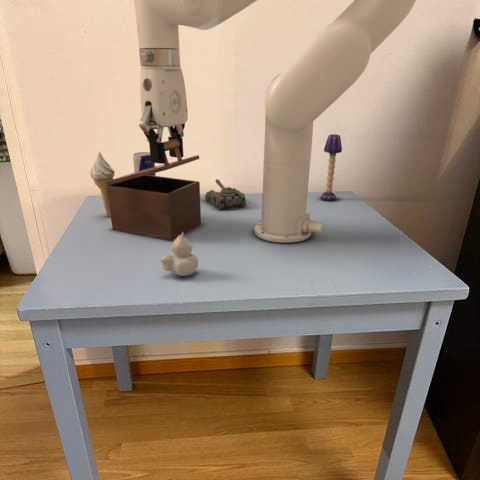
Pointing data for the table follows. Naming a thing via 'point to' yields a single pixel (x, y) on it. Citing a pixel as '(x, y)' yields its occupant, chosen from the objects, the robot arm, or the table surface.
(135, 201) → the chest
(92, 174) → the ice cream cone
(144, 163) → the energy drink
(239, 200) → the tank toy
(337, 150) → the toy lamp
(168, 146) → the chest lid
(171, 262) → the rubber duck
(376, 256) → the table surface
